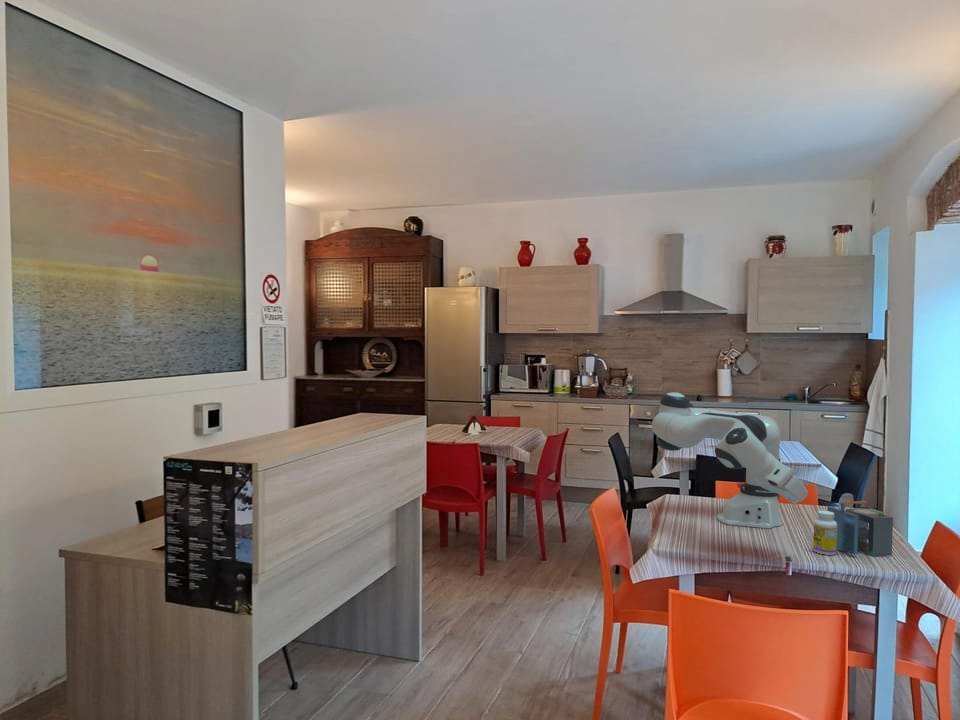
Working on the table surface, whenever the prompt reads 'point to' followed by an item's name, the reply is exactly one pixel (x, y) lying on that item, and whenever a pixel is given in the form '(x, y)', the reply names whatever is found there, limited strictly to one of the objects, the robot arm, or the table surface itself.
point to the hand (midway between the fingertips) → (794, 501)
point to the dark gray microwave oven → (875, 531)
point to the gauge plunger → (848, 528)
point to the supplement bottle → (825, 533)
